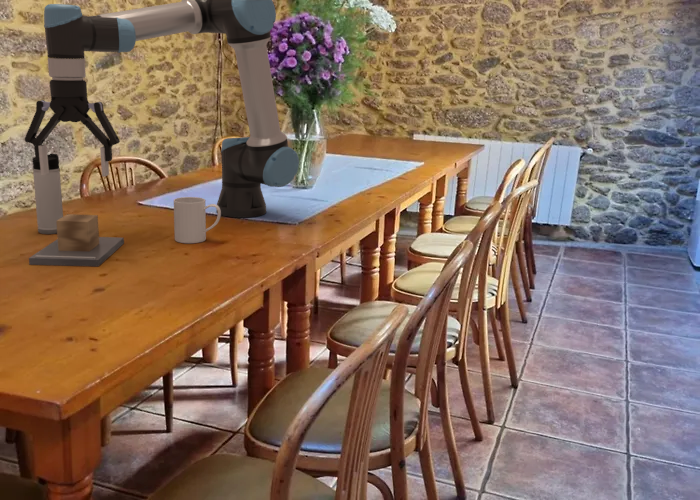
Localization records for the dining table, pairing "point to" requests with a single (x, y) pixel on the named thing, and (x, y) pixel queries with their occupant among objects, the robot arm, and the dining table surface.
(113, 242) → the slate board
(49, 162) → the travel mug
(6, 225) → the dining table surface
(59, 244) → the oak cube
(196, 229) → the mug
